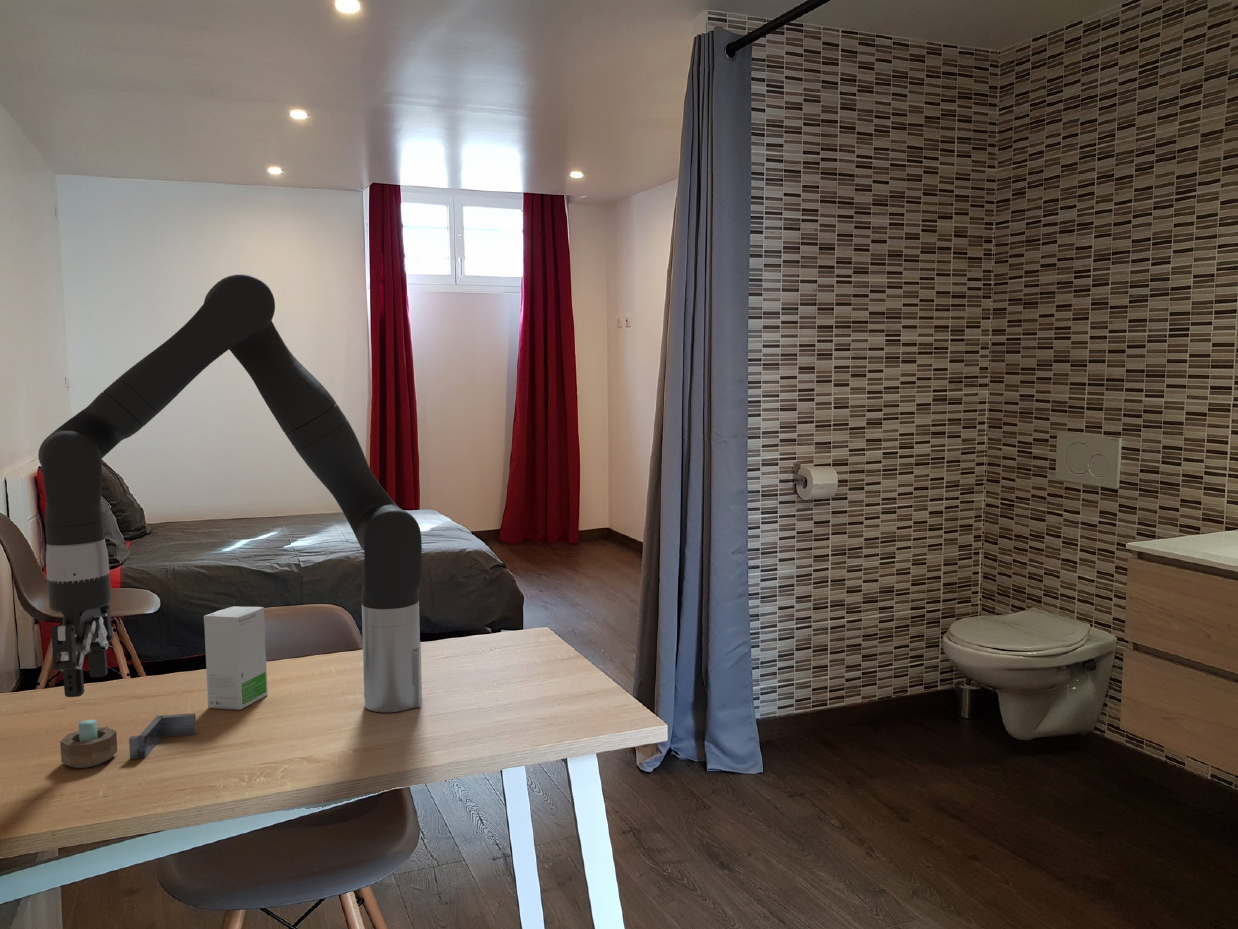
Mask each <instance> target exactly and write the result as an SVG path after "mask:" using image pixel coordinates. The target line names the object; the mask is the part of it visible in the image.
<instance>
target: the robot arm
mask: <svg viewBox="0 0 1238 929" xmlns="http://www.w3.org/2000/svg"><path fill="white" fill-rule="evenodd" d="M275 310H276V302H275V296H274V294H273V292H272V290H271V289H270V287H269V286H268V285H267V284H266V283H265V282H264V281H263V280H261V279H259V278H258V277H255V276H253V275H249V274H233V275H229V276H226V277H223V278H222V279H220V280H219V281H217V282H216V283H215V284H214V285H213V286H212V287H211V288H210V289H209V291H208V292H207V293H206V295H205V297H204V301H203V304H202V305H201V306H200V307H199V309H198V310H197V311H196V312H195V313H194V315H193V316H192V317H191V318H190V319H189V320H188V321H187V322H186V323H185V324H184V325H183V326H182V327H181V328H180V329H179V330H177V331H176V332H175V333H174V334H173V335H171V337H169V338H168V339H166V340H165V341H164V342H163V343H162V344H160V345H159V346H158V347H156V348H155V349H154V350H152V351H151V352H150V353H149V354H147V355H146V356H144V357H143V358H142V359H140V360H139V361H138V362H137V363H135V364H134V365H133V366H132V367H130V368H129V369H127V371H124V373H122V375H120V376H118V378H117V379H115V380H114V381H113V382H112V383H111V384H110V385H109V386H107V387H106V388H105V389H104V390H103V391H101V392H100V393H99V394H98V395H97V396H96V397H95V399H93V401H92V402H91V403H89V405H87V406H86V407H85V408H84V409H81V411H79V412H78V413H77V414H75V415H74V416H73V417H71V418H69V419H68V420H67V421H66V422H64V423H62V424H61V425H60V426H59V427H58V428H56V429H55V430H54V431H52V433H50V434H49V435H48V436H46V438H45V439H44V440H43V441H42V443H41V444H40V446H39V449H38V462H39V465H40V466H41V469H42V475H43V482H44V483H43V485H44V491H45V492H44V493H45V500H46V507H45V508H44V509H45V511H44V527H45V528H44V529H45V538H46V539H45V541H46V542H45V543H46V552H45V553H46V554H45V569H46V582H47V592H48V604H49V605H48V606H49V609H50V610H51V611H54V612H56V613H57V612H59V613H61V614H62V615H63V616H62V624H61V625H54V626H52V627H51V630H50V632H51V647H52V649H51V650H52V651H51V652H52V664H53V665H52V666H53V670H54V671H59V672H62V675H63V677H62V678H63V689H64V690H63V691H64V696H65V698H77V697H78V698H79V697H81V696H83V695H84V693H85V686H84V683H85V682H84V670H83V664H84V659H85V656H86V655H87V658H88V673H89V674H88V675H89V676H90V678H104V677H105V676H106V675H108V672H109V670H108V660H107V650H108V648H109V643H112V642H113V628H112V617H111V607H110V603H111V601H112V589H111V574H110V563H109V562H110V560H109V552H108V548H107V544H106V537H105V524H104V522H105V521H104V513H103V512H104V511H103V508H102V501H101V500H102V483H103V481H102V480H103V478H102V477H103V473H102V472H103V471H102V469H103V468H102V467H103V466H102V459H103V458H104V457H105V456H106V455H107V454H109V453H110V452H111V451H112V450H113V449H114V448H116V446H117V445H119V444H120V443H121V442H122V441H124V440H126V439H128V438H130V437H132V436H133V435H135V434H137V433H138V432H139V431H141V429H143V427H145V426H146V425H147V424H148V423H149V422H150V421H151V420H153V419H154V418H155V417H156V416H157V415H159V413H161V411H163V410H164V409H165V408H166V407H167V406H168V405H169V404H170V403H171V402H172V401H173V400H174V399H175V398H176V397H177V396H178V395H179V394H180V393H182V391H183V390H184V389H185V388H187V386H188V385H189V384H190V383H191V382H192V381H193V380H195V379H196V377H198V376H199V374H200V373H202V372H203V371H204V370H205V369H206V368H207V367H209V366H210V365H212V363H213V362H214V361H216V360H218V359H219V357H221V356H222V355H224V354H225V353H226V352H228V351H230V353H232V355H233V356H234V357H235V359H236V360H237V361H238V362H239V364H240V365H241V366H242V367H243V368H244V370H245V371H246V372H247V374H248V375H249V377H250V378H251V380H252V381H253V383H254V385H255V386H256V388H257V390H258V392H259V394H260V396H261V398H262V399H263V401H264V402H265V404H266V406H267V407H268V409H269V411H270V412H271V414H272V415H273V417H274V419H275V420H276V422H277V423H278V425H279V426H280V428H281V431H283V433H284V435H285V436H286V437H287V439H288V441H289V442H290V443H291V445H292V446H293V447H294V449H295V451H296V452H297V453H298V455H299V456H300V458H301V459H302V460H303V461H304V463H305V464H306V465H307V467H308V468H309V469H310V470H311V471H312V473H313V474H314V475H315V477H316V478H317V479H318V480H319V481H320V483H322V484H323V486H324V487H325V488H326V489H327V490H328V491H329V493H330V494H331V495H332V496H333V498H334V499H335V501H336V503H337V504H338V506H339V507H340V509H341V511H342V513H343V515H344V517H345V519H346V520H347V522H348V524H349V526H350V528H351V529H352V532H353V533H354V536H355V538H356V540H357V543H358V544H359V546H360V548H361V549H362V551H363V556H364V558H363V559H364V561H363V562H364V578H363V580H364V581H363V586H362V588H361V591H360V592H361V593H360V594H361V623H362V626H361V628H362V660H363V665H362V666H363V685H364V686H363V697H364V707H365V709H367V710H369V711H371V712H372V711H373V712H375V713H376V712H377V713H396V712H403V711H407V710H410V709H414V708H415V709H417V708H421V705H422V697H423V681H422V651H421V650H422V643H421V640H420V637H421V634H420V633H421V632H420V589H421V586H422V575H423V574H422V573H423V571H422V570H423V569H422V567H423V566H422V565H423V564H422V561H423V556H422V554H423V550H422V549H423V547H422V545H423V544H422V543H423V542H422V533H421V532H422V531H421V528H420V525H419V523H418V521H417V520H416V518H415V517H414V516H413V515H412V514H411V513H409V512H408V511H406V510H405V509H402V508H400V507H399V506H398V505H397V504H396V502H395V501H394V500H393V499H392V498H391V497H390V495H389V494H388V493H387V491H386V490H385V489H384V488H383V486H382V485H381V484H380V482H379V480H378V479H377V478H376V476H375V475H374V473H373V471H372V470H371V468H370V466H369V464H368V461H367V459H366V456H365V454H364V453H365V452H364V451H363V448H362V447H361V443H360V441H359V439H358V437H357V434H356V433H355V431H354V429H353V428H352V425H351V423H350V422H349V420H348V419H347V417H346V415H345V414H344V413H343V411H342V410H341V408H340V406H339V405H338V403H337V401H336V400H335V398H334V397H333V396H332V395H331V394H330V392H329V391H328V390H327V389H326V387H325V386H324V385H323V384H322V383H321V382H320V381H319V380H318V379H317V378H316V377H315V376H314V375H313V373H311V372H310V371H309V370H308V369H307V368H306V367H305V366H304V365H303V364H302V363H301V362H300V361H299V360H298V359H297V358H296V357H295V356H294V355H293V353H292V352H291V351H290V349H289V348H288V346H287V345H286V344H285V341H284V339H283V338H282V337H281V335H280V333H279V332H278V330H277V328H276V326H275V325H274V322H273V318H274V315H275Z"/></svg>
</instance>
